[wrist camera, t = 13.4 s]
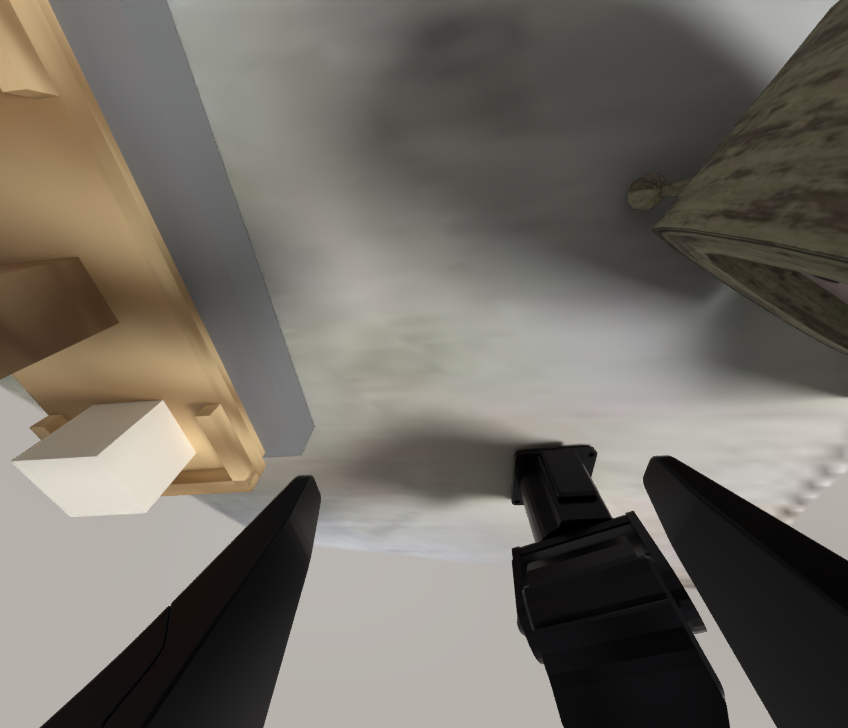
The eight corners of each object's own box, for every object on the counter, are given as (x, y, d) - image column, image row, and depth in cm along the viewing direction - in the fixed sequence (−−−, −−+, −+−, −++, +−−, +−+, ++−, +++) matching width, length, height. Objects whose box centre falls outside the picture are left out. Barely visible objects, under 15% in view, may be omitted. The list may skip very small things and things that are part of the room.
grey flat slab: (314, 426, 25) (301, 455, 22) (145, 437, 26) (113, 466, 23) (129, -107, 12) (45, -187, 9) (-211, -54, 12) (-379, -116, 10)
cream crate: (196, 452, 19) (145, 513, 16) (133, 456, 19) (70, 517, 16) (162, 400, 17) (96, 456, 14) (93, 404, 17) (10, 461, 14)
